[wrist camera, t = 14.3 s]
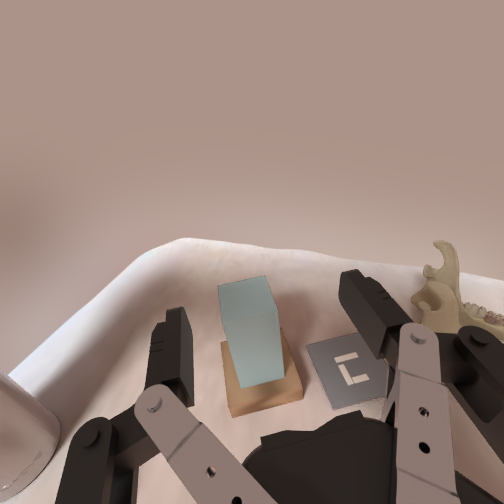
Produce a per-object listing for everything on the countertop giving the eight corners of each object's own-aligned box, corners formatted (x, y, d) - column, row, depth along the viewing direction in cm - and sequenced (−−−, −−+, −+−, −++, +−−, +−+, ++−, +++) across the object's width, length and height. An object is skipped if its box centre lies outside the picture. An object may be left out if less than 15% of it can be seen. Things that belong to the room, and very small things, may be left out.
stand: (232, 418, 33) (228, 406, 31) (224, 354, 40) (220, 342, 38) (303, 399, 33) (302, 386, 32) (282, 340, 41) (281, 327, 39)
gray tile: (333, 410, 32) (333, 408, 32) (306, 347, 39) (306, 345, 39) (403, 390, 33) (403, 388, 33) (363, 332, 40) (364, 330, 40)
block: (240, 388, 32) (222, 323, 26) (234, 350, 37) (217, 286, 30) (284, 377, 33) (277, 310, 26) (273, 340, 37) (265, 275, 31)
